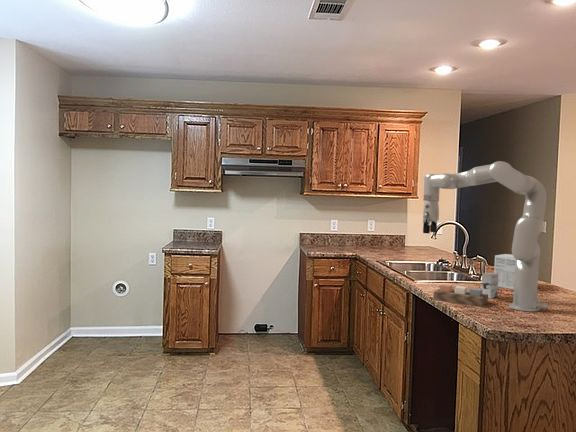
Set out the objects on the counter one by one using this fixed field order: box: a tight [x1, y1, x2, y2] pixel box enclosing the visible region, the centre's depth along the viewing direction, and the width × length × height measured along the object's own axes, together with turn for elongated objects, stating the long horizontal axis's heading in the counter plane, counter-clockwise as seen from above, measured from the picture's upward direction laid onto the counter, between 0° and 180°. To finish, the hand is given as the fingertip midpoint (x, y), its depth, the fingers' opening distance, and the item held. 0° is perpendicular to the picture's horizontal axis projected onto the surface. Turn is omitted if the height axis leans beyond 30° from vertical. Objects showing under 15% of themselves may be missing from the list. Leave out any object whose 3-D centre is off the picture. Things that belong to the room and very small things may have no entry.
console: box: [432, 288, 489, 308], centre depth 231 cm, size 22×12×4 cm, turn 54°
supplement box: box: [493, 253, 516, 290], centre depth 271 cm, size 13×13×18 cm
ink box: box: [481, 272, 499, 299], centre depth 243 cm, size 8×5×12 cm, turn 134°
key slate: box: [469, 287, 483, 297], centre depth 226 cm, size 5×5×4 cm
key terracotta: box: [439, 283, 454, 292], centre depth 235 cm, size 5×5×4 cm
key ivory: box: [454, 285, 468, 295], centre depth 231 cm, size 5×5×4 cm
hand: (429, 232), depth 244 cm, fingers open, 9 cm apart
